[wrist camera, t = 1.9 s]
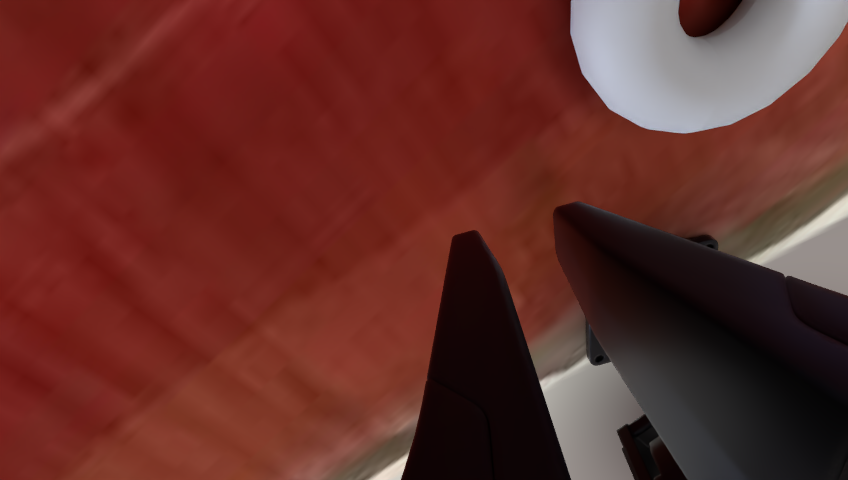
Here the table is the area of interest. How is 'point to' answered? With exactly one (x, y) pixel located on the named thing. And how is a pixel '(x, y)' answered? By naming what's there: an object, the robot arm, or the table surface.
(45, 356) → the table surface
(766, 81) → the donut
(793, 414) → the robot arm
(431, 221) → the table surface
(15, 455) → the table surface
